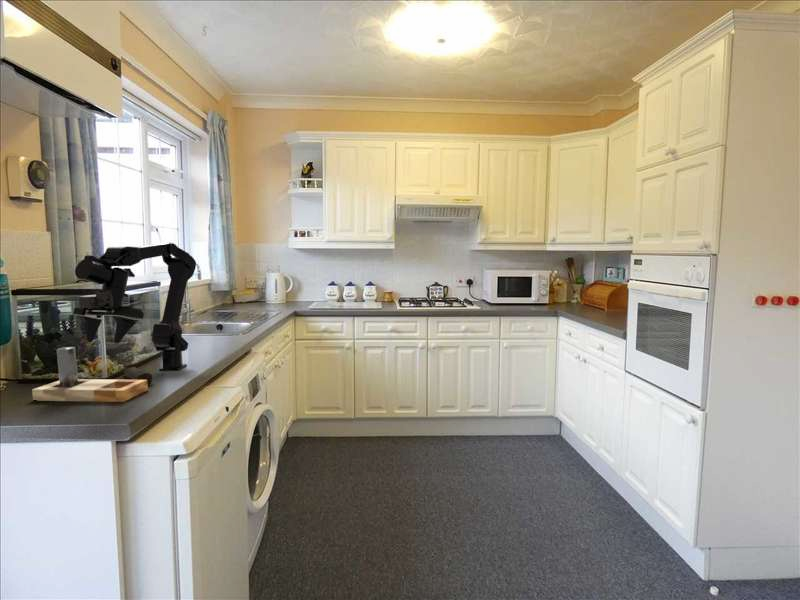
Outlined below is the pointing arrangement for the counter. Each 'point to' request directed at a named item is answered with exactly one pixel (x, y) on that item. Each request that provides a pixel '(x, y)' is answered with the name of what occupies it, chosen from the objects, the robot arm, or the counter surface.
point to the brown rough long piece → (136, 373)
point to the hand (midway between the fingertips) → (102, 342)
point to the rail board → (92, 390)
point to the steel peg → (67, 367)
